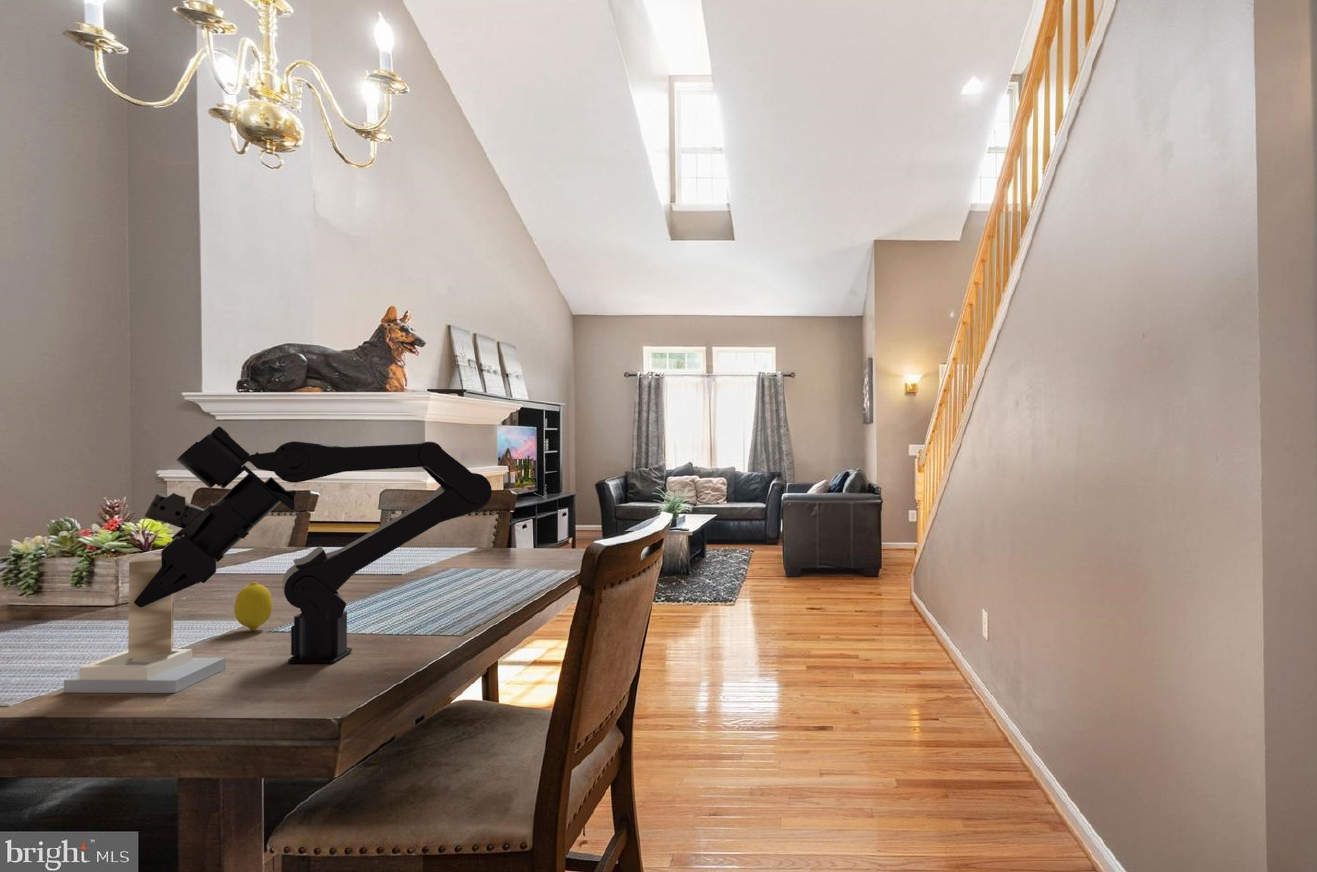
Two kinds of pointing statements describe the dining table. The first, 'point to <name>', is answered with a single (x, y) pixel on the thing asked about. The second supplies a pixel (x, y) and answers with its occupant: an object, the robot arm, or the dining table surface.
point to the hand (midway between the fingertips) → (139, 601)
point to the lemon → (253, 606)
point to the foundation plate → (144, 673)
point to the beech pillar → (148, 613)
